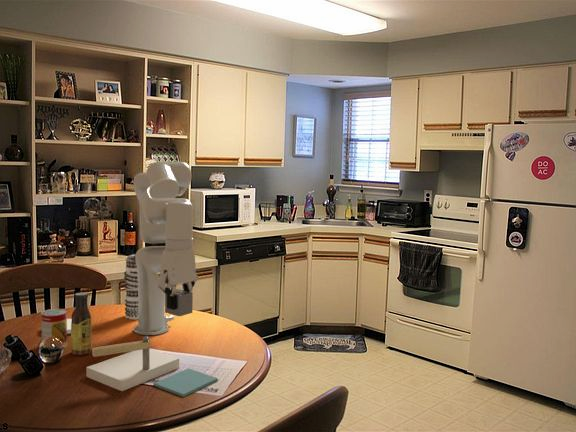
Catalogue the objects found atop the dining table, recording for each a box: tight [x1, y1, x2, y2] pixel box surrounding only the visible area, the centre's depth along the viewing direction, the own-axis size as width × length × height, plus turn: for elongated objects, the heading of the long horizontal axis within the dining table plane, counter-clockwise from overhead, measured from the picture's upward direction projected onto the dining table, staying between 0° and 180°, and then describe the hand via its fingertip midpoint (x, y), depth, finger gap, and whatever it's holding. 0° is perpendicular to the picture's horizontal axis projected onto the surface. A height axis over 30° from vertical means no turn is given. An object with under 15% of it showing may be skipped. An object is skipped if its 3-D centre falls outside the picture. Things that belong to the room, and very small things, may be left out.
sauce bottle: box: [70, 292, 92, 356], centre depth 185 cm, size 7×6×20 cm
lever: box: [91, 335, 151, 358], centre depth 162 cm, size 2×16×3 cm, turn 120°
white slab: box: [86, 347, 180, 392], centre depth 171 cm, size 22×16×10 cm
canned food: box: [40, 308, 68, 349], centre depth 190 cm, size 8×8×12 cm
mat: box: [153, 367, 219, 398], centre depth 164 cm, size 14×12×1 cm
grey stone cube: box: [165, 288, 194, 317], centre depth 162 cm, size 5×6×6 cm
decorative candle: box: [123, 253, 138, 320], centre depth 226 cm, size 9×9×25 cm
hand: (178, 306), depth 162 cm, fingers closed on grey stone cube, 5 cm apart
